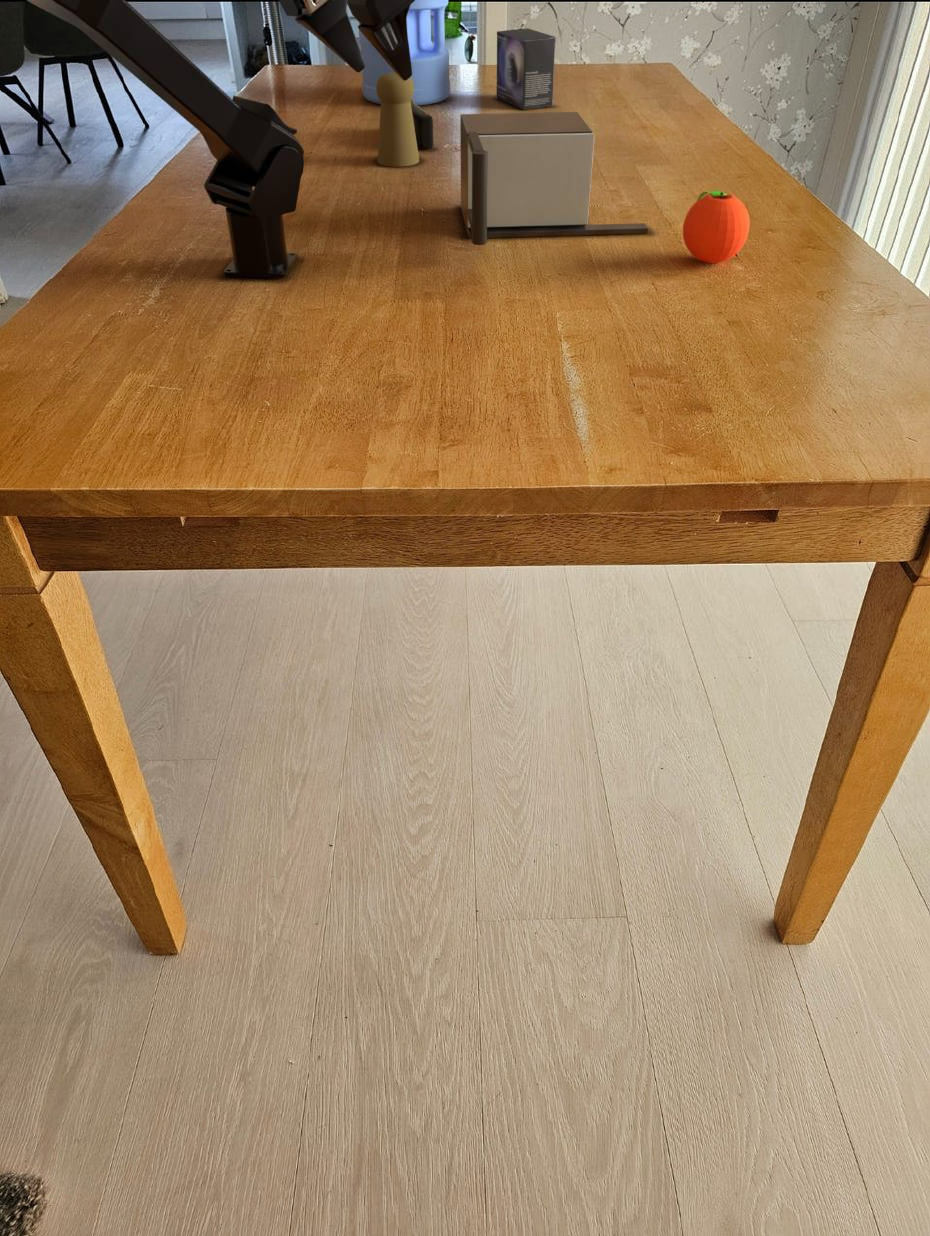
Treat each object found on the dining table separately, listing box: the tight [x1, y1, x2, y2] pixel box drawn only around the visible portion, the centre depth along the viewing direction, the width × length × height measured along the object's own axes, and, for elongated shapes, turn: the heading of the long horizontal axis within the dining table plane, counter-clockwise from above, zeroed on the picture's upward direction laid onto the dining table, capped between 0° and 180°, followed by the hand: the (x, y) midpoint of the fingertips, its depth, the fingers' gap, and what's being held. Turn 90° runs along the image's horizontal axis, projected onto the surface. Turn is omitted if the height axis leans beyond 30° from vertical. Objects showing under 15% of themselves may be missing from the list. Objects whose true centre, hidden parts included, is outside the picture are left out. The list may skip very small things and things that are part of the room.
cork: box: [376, 73, 420, 168], centre depth 131 cm, size 6×6×11 cm
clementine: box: [682, 190, 751, 264], centre depth 100 cm, size 8×7×7 cm
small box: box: [495, 27, 557, 110], centre depth 162 cm, size 11×6×10 cm, turn 25°
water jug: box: [358, 0, 451, 107], centre depth 159 cm, size 16×16×28 cm
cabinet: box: [459, 111, 649, 239], centre depth 110 cm, size 21×12×10 cm, turn 94°
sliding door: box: [468, 132, 596, 246], centre depth 102 cm, size 14×10×10 cm
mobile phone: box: [410, 99, 434, 150], centre depth 143 cm, size 5×3×15 cm
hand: (384, 74), depth 98 cm, fingers open, 9 cm apart
